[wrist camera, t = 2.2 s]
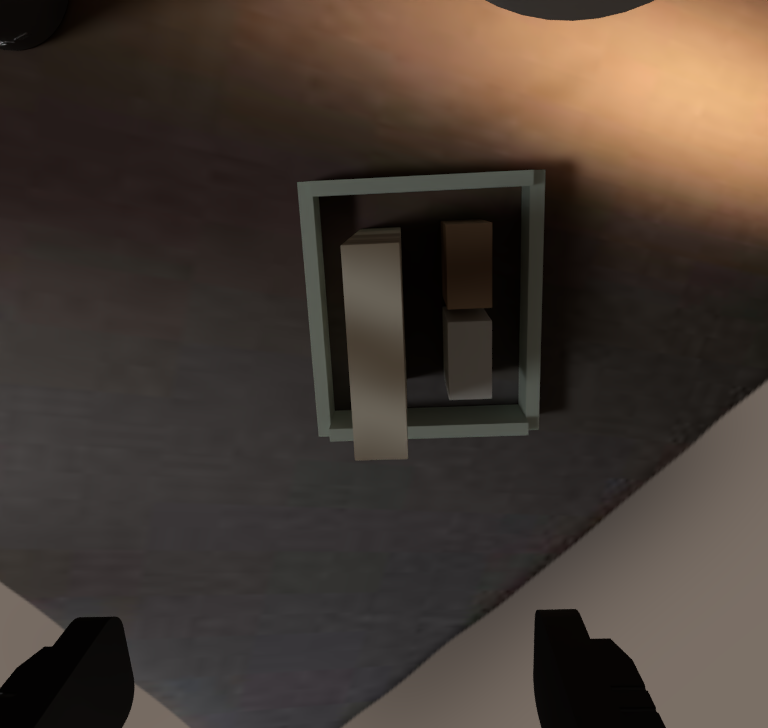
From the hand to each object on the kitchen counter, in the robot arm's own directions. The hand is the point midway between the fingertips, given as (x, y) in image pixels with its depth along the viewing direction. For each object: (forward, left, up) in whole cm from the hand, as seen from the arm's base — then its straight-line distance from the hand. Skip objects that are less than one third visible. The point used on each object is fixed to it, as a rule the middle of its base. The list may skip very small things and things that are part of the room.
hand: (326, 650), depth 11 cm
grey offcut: (+3, +6, -36) cm, 37 cm away
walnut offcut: (-4, +6, -36) cm, 37 cm away
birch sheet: (0, 0, -36) cm, 36 cm away
